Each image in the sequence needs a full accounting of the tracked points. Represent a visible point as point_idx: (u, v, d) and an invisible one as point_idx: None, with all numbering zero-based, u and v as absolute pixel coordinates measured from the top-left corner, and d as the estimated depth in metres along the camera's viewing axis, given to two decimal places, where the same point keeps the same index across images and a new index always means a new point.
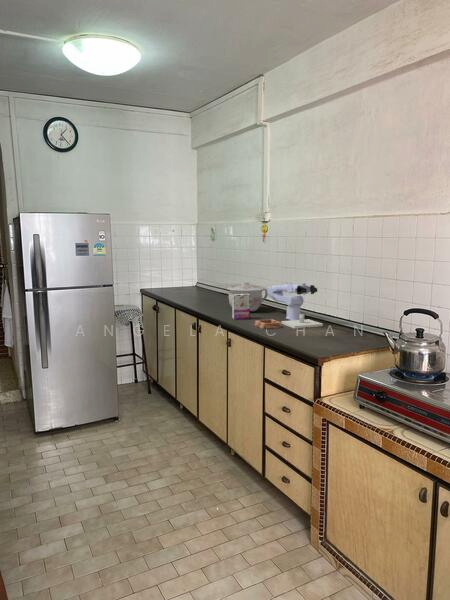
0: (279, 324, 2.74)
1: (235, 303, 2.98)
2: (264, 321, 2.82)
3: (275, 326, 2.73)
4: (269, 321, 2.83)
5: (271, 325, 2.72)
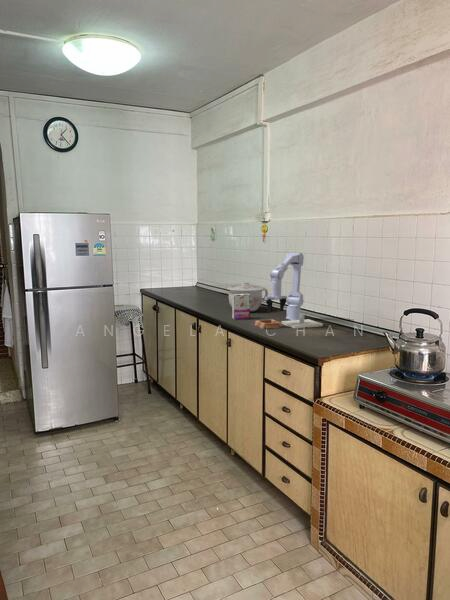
0: (279, 324, 2.74)
1: (235, 303, 2.98)
2: (264, 321, 2.82)
3: (275, 326, 2.73)
4: (269, 321, 2.83)
5: (271, 325, 2.72)
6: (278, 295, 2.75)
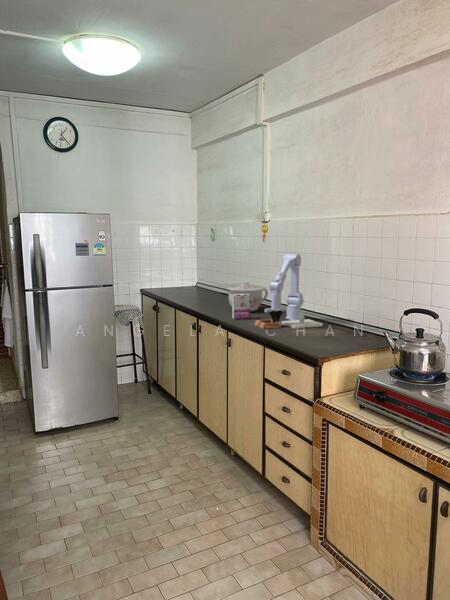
0: (279, 324, 2.74)
1: (235, 303, 2.98)
2: (264, 321, 2.82)
3: (275, 326, 2.73)
4: (269, 321, 2.83)
5: (271, 325, 2.72)
6: (278, 307, 2.76)
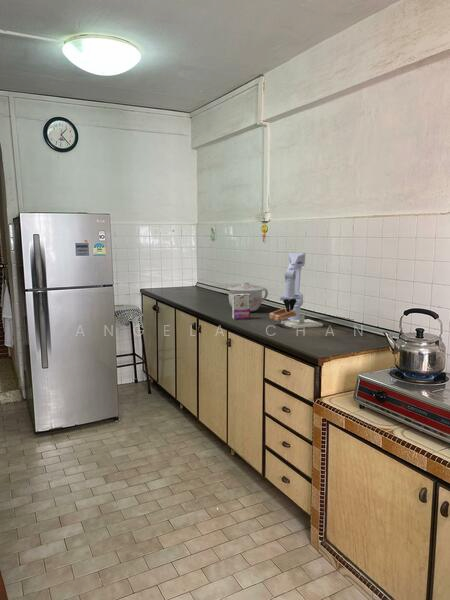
0: (293, 313, 2.75)
1: (235, 303, 2.98)
2: (278, 312, 2.83)
3: (290, 316, 2.75)
4: (283, 310, 2.84)
5: (285, 316, 2.74)
6: (292, 295, 2.77)
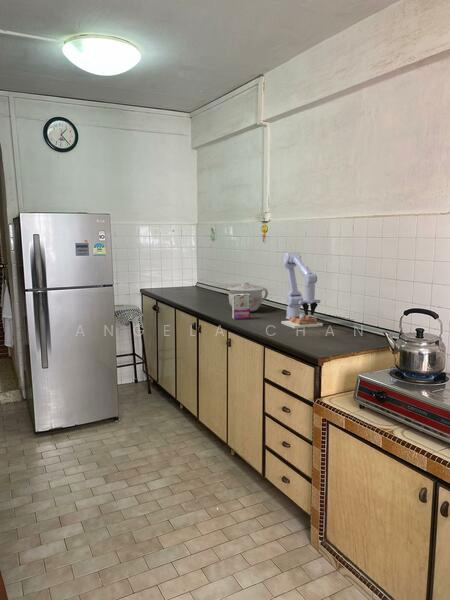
0: (314, 320, 2.80)
1: (235, 303, 2.98)
2: (299, 317, 2.87)
3: (310, 322, 2.79)
4: None
5: (307, 321, 2.77)
6: (312, 299, 2.81)
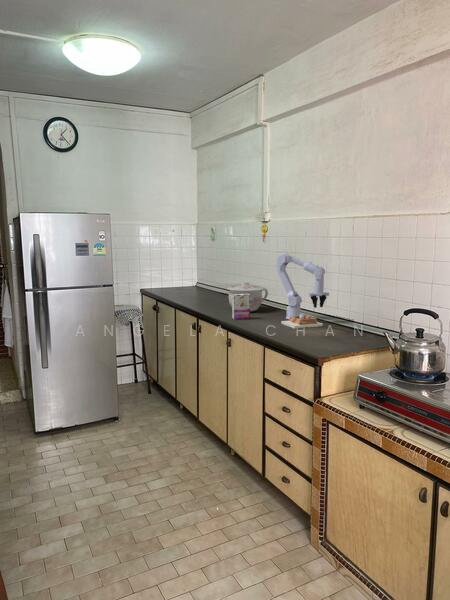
0: (314, 320, 2.80)
1: (235, 303, 2.98)
2: (299, 317, 2.87)
3: (310, 322, 2.79)
4: None
5: (307, 321, 2.77)
6: (321, 292, 2.88)
